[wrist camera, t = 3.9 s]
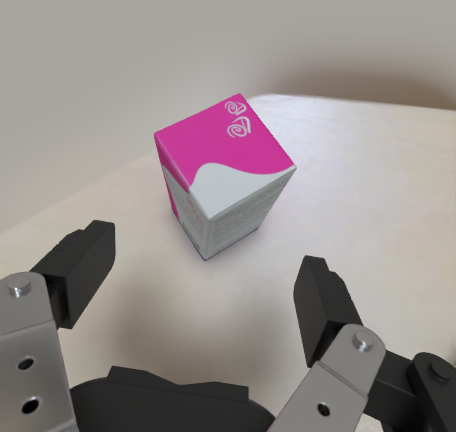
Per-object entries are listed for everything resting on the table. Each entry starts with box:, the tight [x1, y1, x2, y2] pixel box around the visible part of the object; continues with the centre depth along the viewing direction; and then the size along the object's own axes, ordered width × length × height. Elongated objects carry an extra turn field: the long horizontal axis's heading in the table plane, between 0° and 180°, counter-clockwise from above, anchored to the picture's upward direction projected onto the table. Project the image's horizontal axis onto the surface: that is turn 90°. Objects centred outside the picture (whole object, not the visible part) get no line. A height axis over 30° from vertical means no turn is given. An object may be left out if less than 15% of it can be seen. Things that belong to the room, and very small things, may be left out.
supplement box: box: [154, 93, 297, 261], centre depth 21 cm, size 6×6×12 cm
